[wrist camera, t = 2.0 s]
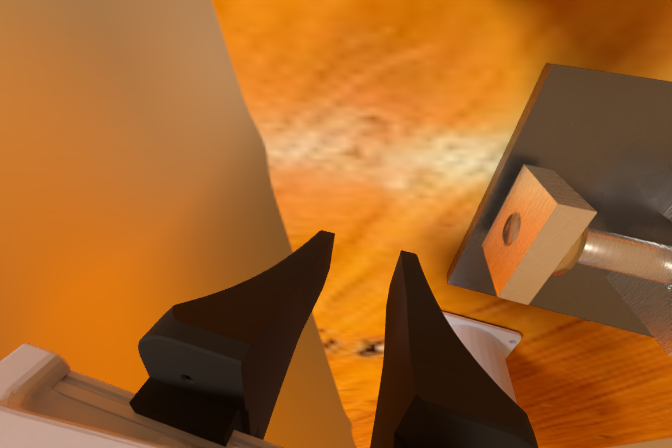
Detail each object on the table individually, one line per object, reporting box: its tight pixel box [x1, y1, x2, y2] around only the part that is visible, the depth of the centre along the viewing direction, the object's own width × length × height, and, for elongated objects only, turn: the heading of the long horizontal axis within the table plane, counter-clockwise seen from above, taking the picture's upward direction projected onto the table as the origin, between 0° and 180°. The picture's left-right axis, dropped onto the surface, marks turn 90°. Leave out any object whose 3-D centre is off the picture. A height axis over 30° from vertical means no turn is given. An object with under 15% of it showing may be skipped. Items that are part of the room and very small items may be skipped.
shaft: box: [482, 164, 672, 305], centre depth 15 cm, size 6×13×5 cm, turn 83°
